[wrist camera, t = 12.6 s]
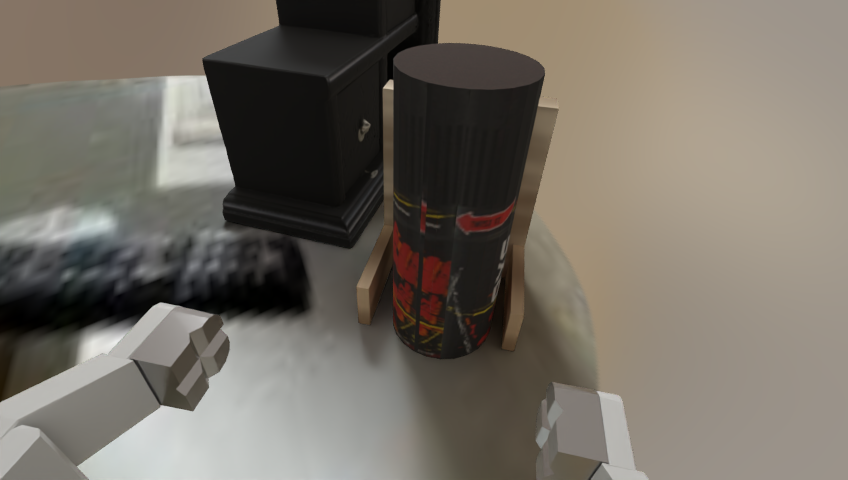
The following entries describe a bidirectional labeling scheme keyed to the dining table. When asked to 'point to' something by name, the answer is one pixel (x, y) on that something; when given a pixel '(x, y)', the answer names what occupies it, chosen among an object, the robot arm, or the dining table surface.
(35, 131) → the dining table surface
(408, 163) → the deodorant
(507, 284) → the rack
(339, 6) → the bookend
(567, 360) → the dining table surface
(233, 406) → the dining table surface
